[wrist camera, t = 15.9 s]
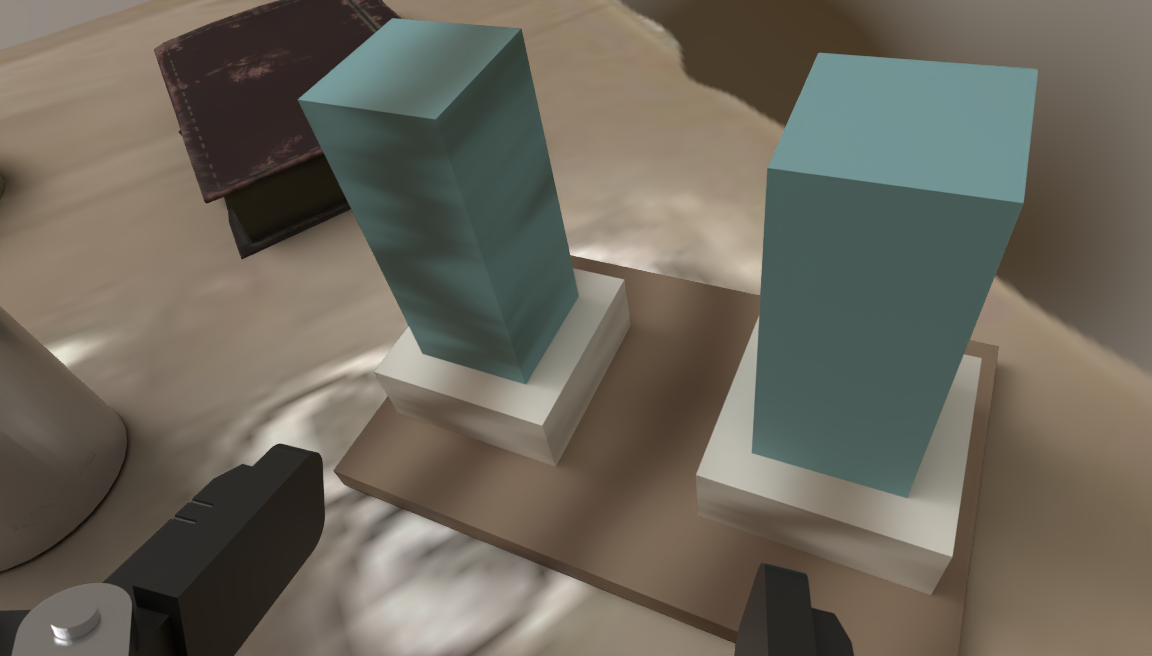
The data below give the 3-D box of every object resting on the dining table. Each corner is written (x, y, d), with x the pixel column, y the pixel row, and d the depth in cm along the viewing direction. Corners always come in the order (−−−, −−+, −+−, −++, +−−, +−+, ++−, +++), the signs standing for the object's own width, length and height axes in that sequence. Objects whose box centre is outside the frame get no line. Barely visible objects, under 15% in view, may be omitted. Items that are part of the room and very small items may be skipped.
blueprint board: (344, 484, 32) (112, 190, 20) (506, 256, 40) (413, -49, 28) (940, 726, 22) (1192, 448, 10) (990, 364, 31) (1163, -23, 19)
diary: (383, 26, 64) (363, -33, 60) (504, 150, 48) (487, 82, 44) (174, 104, 59) (138, 46, 56) (232, 270, 44) (188, 204, 40)
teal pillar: (751, 453, 25) (767, 168, 16) (788, 346, 28) (818, 52, 19) (907, 498, 23) (1023, 203, 14) (929, 378, 26) (1038, 69, 17)
